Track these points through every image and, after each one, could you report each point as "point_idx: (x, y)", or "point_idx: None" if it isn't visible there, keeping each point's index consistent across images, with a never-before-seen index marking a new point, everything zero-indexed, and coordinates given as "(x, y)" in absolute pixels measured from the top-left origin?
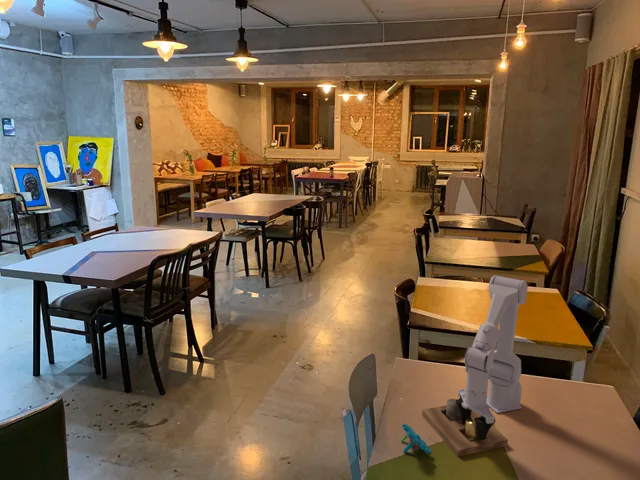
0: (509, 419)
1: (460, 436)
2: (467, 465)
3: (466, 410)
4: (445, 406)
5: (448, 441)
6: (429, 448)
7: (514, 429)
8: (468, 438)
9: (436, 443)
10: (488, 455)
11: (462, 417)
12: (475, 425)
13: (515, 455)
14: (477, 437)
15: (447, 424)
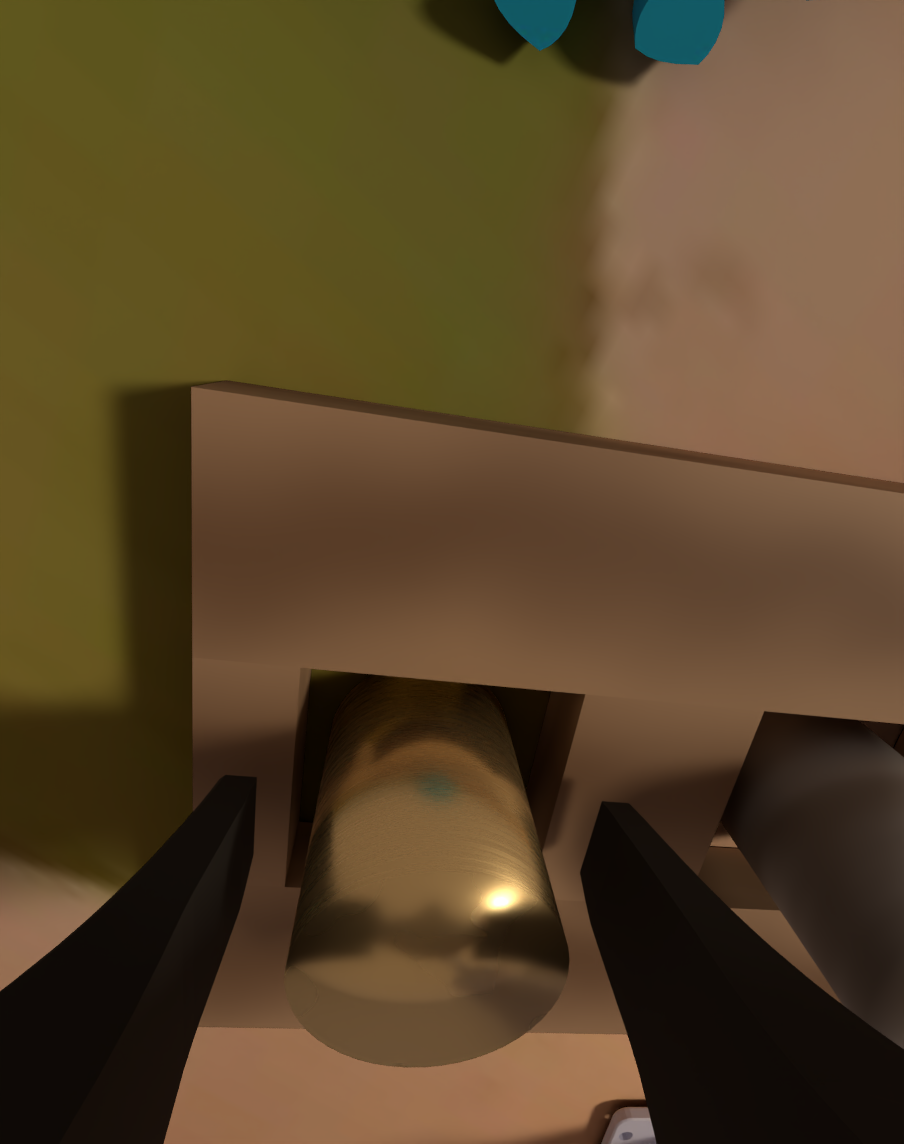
0: (508, 1129)
1: (456, 633)
2: (25, 382)
3: (695, 1072)
4: None
5: (476, 426)
6: (514, 19)
7: (388, 1098)
8: (397, 704)
9: (584, 292)
10: (139, 729)
11: (656, 888)
12: (337, 946)
13: (69, 934)
14: (227, 797)
15: (746, 641)
